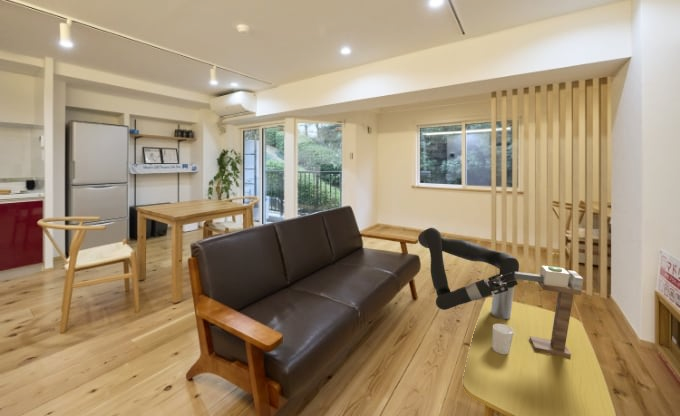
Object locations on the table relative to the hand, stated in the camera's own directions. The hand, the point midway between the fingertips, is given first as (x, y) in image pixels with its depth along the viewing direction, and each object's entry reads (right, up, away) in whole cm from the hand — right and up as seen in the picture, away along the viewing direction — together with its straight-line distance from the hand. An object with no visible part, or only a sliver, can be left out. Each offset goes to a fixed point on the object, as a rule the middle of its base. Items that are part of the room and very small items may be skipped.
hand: (514, 278), depth 133 cm
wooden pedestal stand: (+15, -31, 0) cm, 34 cm away
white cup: (-7, -31, -2) cm, 32 cm away
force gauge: (+9, -1, -3) cm, 9 cm away
